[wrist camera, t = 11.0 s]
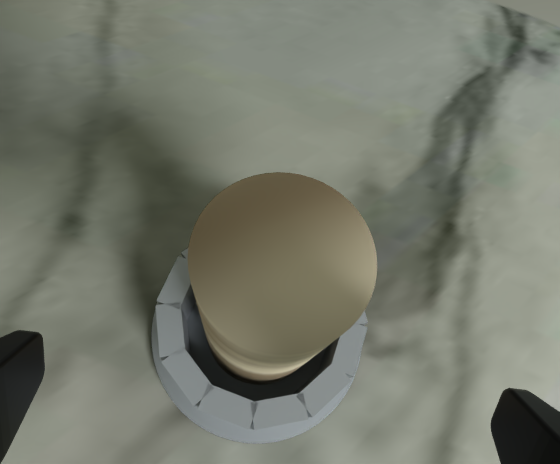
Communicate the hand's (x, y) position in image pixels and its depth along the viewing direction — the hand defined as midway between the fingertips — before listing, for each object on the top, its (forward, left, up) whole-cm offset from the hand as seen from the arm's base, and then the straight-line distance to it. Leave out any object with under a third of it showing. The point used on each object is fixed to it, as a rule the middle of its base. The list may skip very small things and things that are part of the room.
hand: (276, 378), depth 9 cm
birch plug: (+2, -2, -12) cm, 13 cm away
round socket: (+2, -2, -13) cm, 14 cm away
